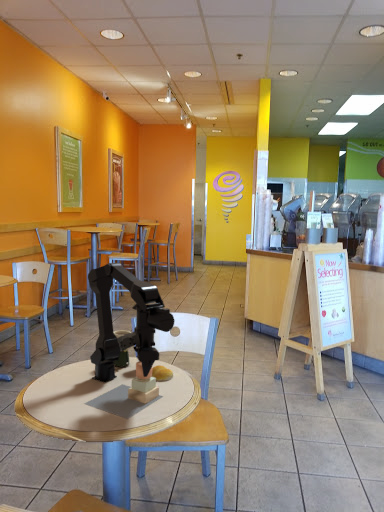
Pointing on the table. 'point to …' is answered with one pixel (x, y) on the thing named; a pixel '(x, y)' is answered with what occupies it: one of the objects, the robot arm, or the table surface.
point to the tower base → (143, 395)
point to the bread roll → (162, 373)
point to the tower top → (143, 384)
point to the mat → (119, 402)
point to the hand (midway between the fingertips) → (144, 373)
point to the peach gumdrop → (140, 372)
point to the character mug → (124, 354)
